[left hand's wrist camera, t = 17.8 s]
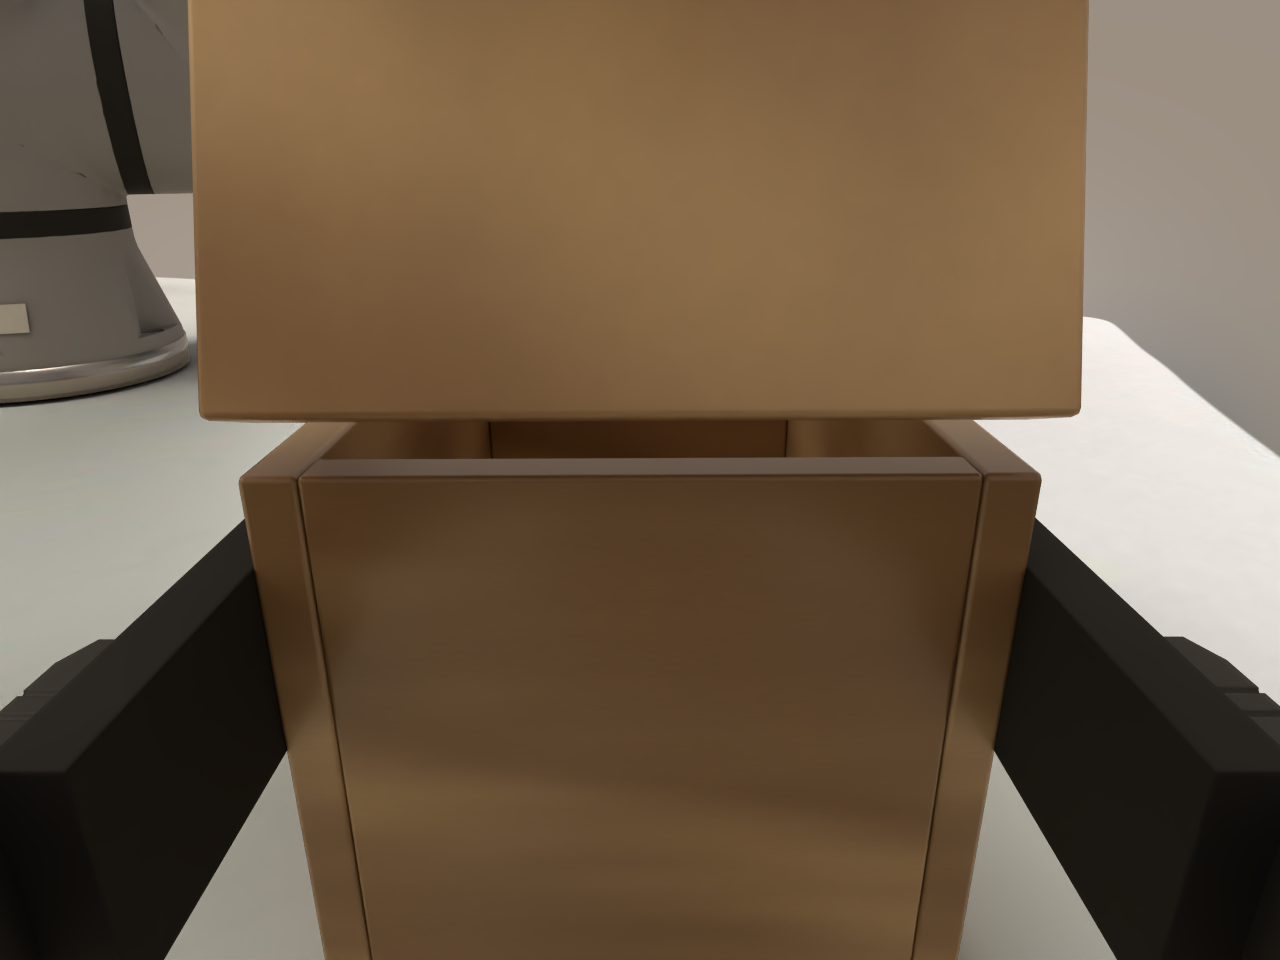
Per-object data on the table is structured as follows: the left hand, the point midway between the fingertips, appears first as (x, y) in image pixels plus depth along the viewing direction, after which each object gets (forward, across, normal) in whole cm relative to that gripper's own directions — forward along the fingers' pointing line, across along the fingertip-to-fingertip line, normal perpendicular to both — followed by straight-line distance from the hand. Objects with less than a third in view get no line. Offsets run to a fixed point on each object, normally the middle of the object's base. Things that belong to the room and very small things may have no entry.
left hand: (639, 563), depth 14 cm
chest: (+4, 0, -7) cm, 8 cm away
